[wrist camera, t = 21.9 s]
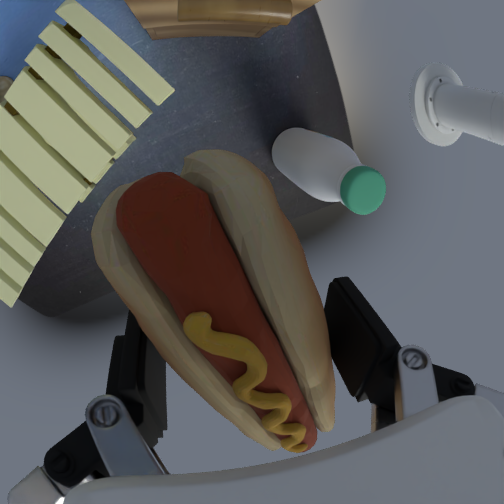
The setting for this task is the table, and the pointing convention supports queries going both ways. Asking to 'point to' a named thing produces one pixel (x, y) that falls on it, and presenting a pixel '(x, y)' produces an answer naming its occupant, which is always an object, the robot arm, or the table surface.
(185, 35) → the box
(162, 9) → the lid
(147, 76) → the slatted curved stool
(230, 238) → the food
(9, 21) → the table surface
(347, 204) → the milk bottle
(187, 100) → the table surface
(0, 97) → the hand bell
